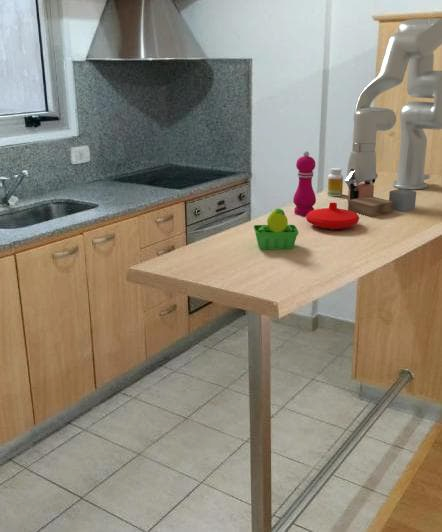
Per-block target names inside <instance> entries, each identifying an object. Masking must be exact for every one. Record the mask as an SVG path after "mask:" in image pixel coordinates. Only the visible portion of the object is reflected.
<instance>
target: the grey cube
mask: <svg viewBox="0 0 442 532" xmlns="http://www.w3.org/2000/svg"><path fill="white" fill-rule="evenodd" d="M388 195H389V196H388V200H389V201H393V211H396V210H397V212H401V213H405V212H409V211H414V210H416V200H417V191H415V190H412V189H401V188H397V189H394V190H390V191H389V193H388Z"/></svg>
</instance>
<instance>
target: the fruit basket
mask: <svg viewBox="0 0 442 532" xmlns="http://www.w3.org/2000/svg"><path fill="white" fill-rule="evenodd" d="M288 222H289V221H288V218H287V216H286V213H285V211H284V210H283V209H281V208H279V207H278V208H276V209H274V210H272V211H271V213H270V214H269V215H268V217H267V218H266V224H254V225H253V226H252V227H253V230H254V234H255V236H256V237H255V238H256V241H257V245H258V249H259V250H293V249H294V247H295V243H296V240H297V237H298V235H299V229H298V228H297V226H296V225H295V224H289V223H288Z"/></svg>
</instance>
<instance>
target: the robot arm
mask: <svg viewBox="0 0 442 532" xmlns="http://www.w3.org/2000/svg"><path fill="white" fill-rule="evenodd" d="M397 28H398V29H397V32H395V33H393V34H392V35H391V36H390V37H389V39H388V41H387V44H386V48H385V51H384V54H383V57H382V61H381V64H380V67H379V70H378V74H377V76H376V77H375V78H373V80H371V81H370V82H369V83H368V85H366V86H365V88H364V89H363V90H362V91H361V93H360V95H359V96H358V99H357V103H356V105H355V109H354V112H353V133H352V135H353V136H352V151H351V152H350V154H349V158H348V162H347V172H346V179H344V182H345V183H346V186H347V187H348V190H349V189H350V200H352V199H357V198H358V192H359V191H357V189H358V186H359V183H365V184H370V185H374V184H375V182H376V180H377V179H378V177H379V175H378V173H377V154H376V145H377V132H378V131H379V132H386V131H390V130H392V128H394V127H395V125H396V122H397V115H396V112H395V111H394V110H393V109H390V108H388V107H387V108H385V107H377V106H376V107H375V106H374V107H373V106H372V103H373V101H374V100H375V99H376V98H377V97H378V96H380V95H381V94H382V93H384V92H386V91H389V90H391V89H393V88H395V87H397V86H399V85H400V84H402V82H403V81H404V77H405V74H406V71H407V70H408V71H407V80H406V81H407V83H406V91H407V94H408V95H409V96H410V97H411V98H419V99H420V98H421V99H424V98H425V99H433V101H431V102H429V101H417V100H414V101H408V102H407V103H404V105H402V107H401V109H400V113H399V118H400V119H399V120H400V142H399V143H400V145H399V156H398V158H399V159H398V165H397V166H398V167H397V179H396V181H393V182H392V186H393V187H395V188H397V189H406V190H423V189H426V188H427V187H428V183H426V182H425V180H428V179H430V177H431V176H430V174H429V173H425V164H426V156H427V155H426V154H427V147H428V145H427V144H428V139H427V135H426V133H425V130H436V131H437V130H438V131H439V130H442V70H435V69H434V59H435V55H434V52H435V51H436V50H437V49H438V48H439V47H440V46H442V18H440V17H436V18H435V17H434V18H432V17H431V18H413V19H407V20H404V21H402V22H400V23H399V26H398V27H397ZM407 67H408V69H407ZM424 129H425V130H424ZM354 184H355V185H354Z"/></svg>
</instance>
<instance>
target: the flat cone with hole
mask: <svg viewBox="0 0 442 532" xmlns="http://www.w3.org/2000/svg"><path fill="white" fill-rule="evenodd" d="M305 218H306V222H308V223H309V224H311V225H313V226H315V227H317V228H319V229H325V230H343V229H347V228H350V227H352V226H355V225H357V224H358V223H359V220H360V215H359V214H357V213H355V212H353V211H349V210H348V209H344V208H343V209H342V208H338V203H337V202H333V201H332V202H329V205H328V207H325V208H323V207H322V208H317V209H314V210H312V211H310V212H309V213H308V214H307V215H306V216H305Z"/></svg>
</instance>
